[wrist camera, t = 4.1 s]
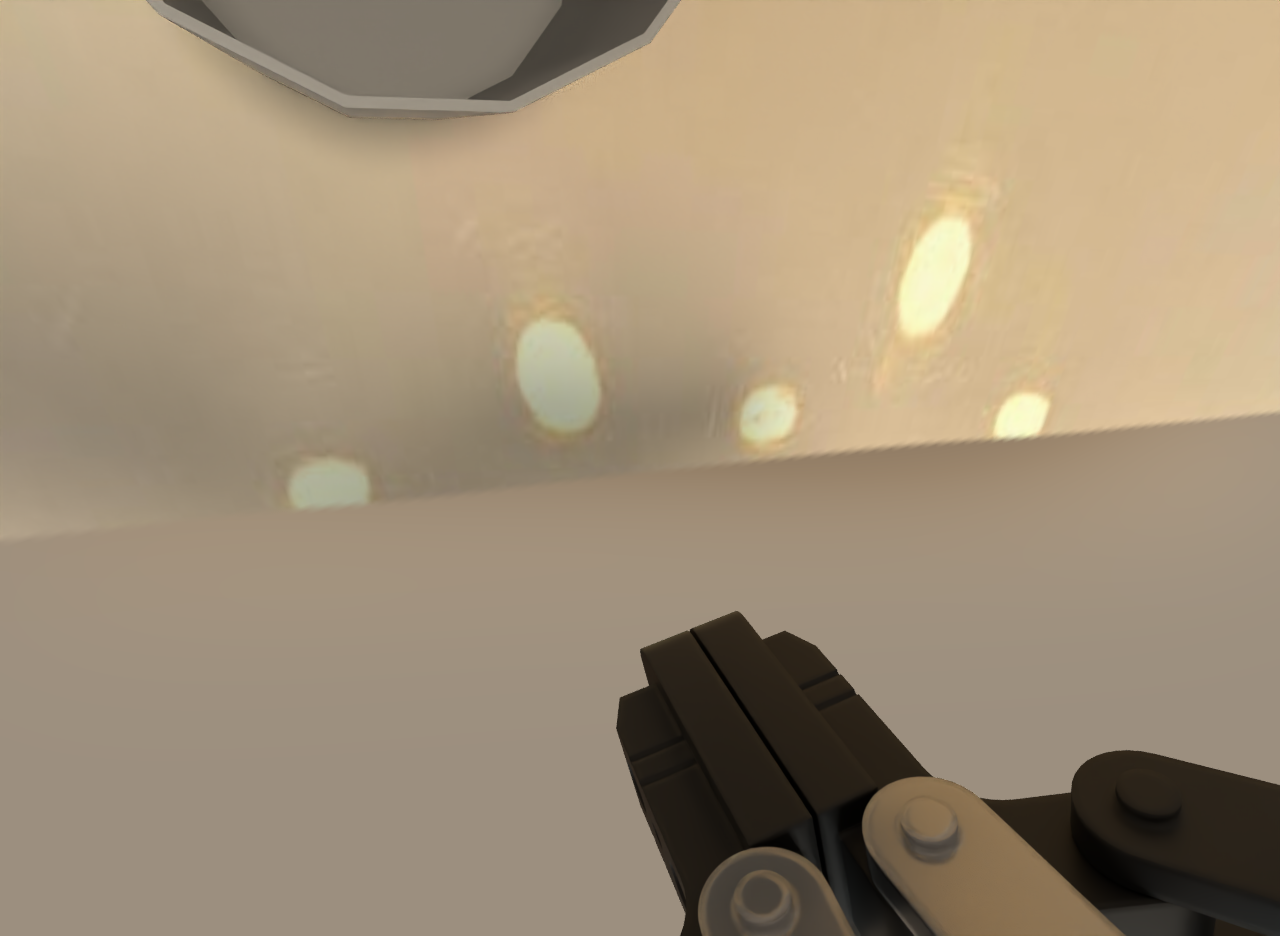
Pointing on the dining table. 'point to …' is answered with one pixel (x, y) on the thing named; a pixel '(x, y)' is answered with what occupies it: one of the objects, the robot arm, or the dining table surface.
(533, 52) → the cup
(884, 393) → the dining table surface
